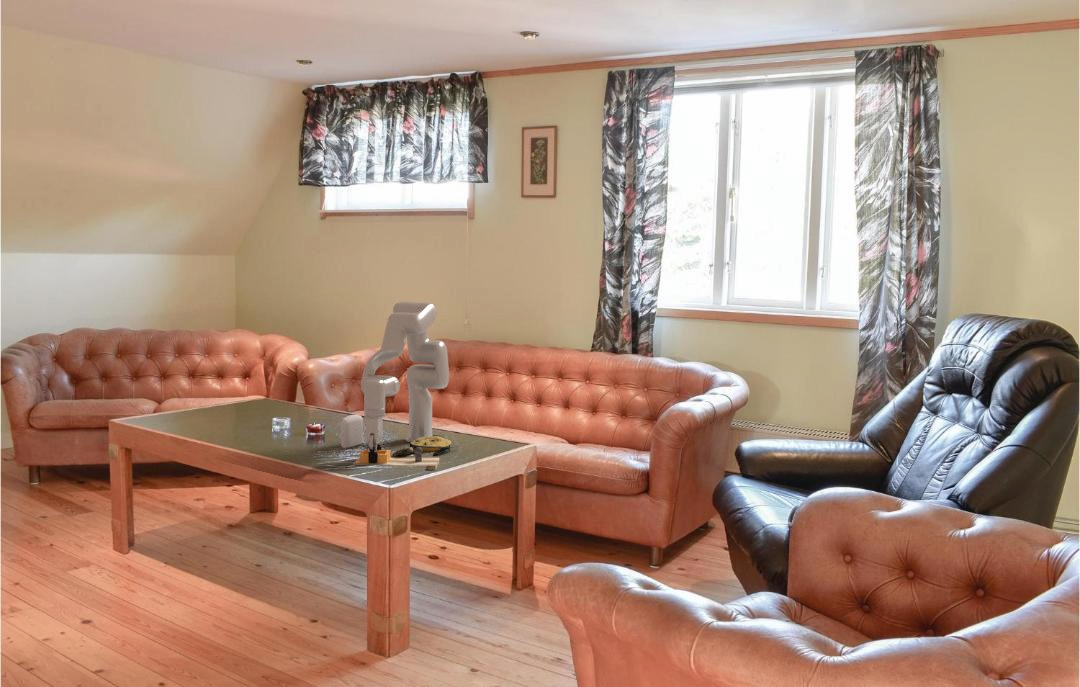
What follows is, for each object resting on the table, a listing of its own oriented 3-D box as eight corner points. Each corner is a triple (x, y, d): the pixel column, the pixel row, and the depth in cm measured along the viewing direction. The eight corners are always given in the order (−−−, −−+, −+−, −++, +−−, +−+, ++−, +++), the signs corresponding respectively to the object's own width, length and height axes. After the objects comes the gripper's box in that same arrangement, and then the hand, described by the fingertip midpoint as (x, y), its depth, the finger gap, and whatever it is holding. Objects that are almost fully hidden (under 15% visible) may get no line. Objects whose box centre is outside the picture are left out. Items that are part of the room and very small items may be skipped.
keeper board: (359, 460, 331) (359, 442, 330) (439, 461, 331) (439, 443, 330) (352, 468, 319) (352, 449, 318) (435, 469, 319) (435, 450, 318)
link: (363, 458, 328) (363, 449, 328) (390, 458, 328) (390, 450, 328) (359, 462, 321) (359, 454, 321) (386, 463, 321) (386, 454, 321)
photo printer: (347, 448, 349) (347, 418, 348) (339, 447, 351) (339, 416, 350) (364, 443, 358) (364, 413, 357) (356, 442, 360) (356, 412, 359)
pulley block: (382, 440, 334) (437, 429, 358) (380, 455, 335) (436, 442, 359) (408, 452, 326) (463, 439, 349) (406, 466, 327) (461, 453, 351)
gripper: (369, 408, 331) (369, 454, 333) (359, 417, 314) (360, 465, 316) (389, 408, 331) (389, 454, 333) (380, 417, 314) (380, 466, 316)
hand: (375, 459), depth 325 cm, fingers closed on link, 7 cm apart
